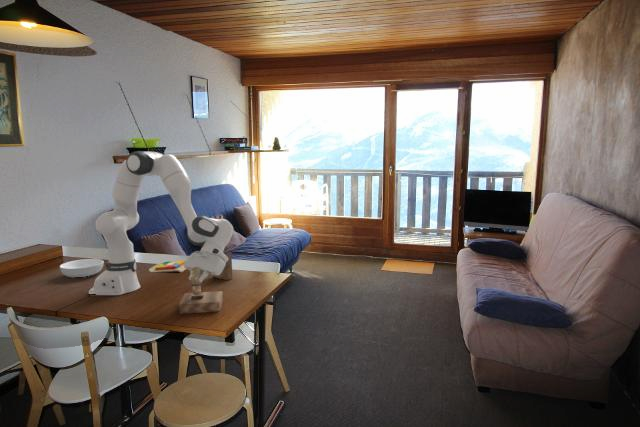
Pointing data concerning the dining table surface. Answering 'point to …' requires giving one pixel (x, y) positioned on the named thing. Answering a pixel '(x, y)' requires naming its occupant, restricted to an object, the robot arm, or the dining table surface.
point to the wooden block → (226, 269)
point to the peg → (195, 280)
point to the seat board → (201, 302)
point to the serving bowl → (82, 267)
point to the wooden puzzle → (169, 267)
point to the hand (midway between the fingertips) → (194, 280)
